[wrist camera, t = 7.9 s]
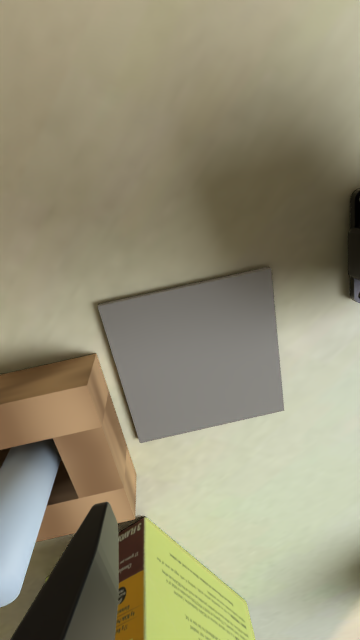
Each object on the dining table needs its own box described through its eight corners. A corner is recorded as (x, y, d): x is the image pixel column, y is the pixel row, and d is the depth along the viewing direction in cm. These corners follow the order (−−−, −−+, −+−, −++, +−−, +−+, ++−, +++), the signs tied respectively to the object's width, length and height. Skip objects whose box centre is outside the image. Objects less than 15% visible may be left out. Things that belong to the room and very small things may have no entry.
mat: (268, 266, 19) (271, 268, 19) (281, 406, 23) (284, 410, 23) (98, 304, 19) (97, 306, 19) (140, 438, 23) (139, 443, 22)
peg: (58, 412, 21) (4, 554, 13) (73, 447, 23) (31, 600, 14) (12, 422, 21) (-72, 572, 13) (29, 457, 22) (-38, 616, 14)
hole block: (96, 353, 20) (87, 385, 17) (136, 474, 24) (135, 519, 21) (-68, 389, 20) (-109, 429, 17) (-2, 505, 24) (-25, 556, 20)
